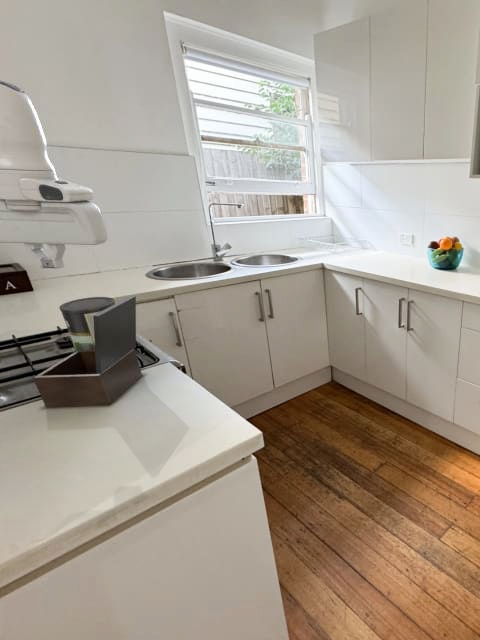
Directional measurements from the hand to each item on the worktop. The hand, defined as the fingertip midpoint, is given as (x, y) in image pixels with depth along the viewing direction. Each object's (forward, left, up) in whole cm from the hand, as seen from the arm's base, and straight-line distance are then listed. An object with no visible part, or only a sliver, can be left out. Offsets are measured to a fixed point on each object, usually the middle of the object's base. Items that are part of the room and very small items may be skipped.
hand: (52, 267), depth 71 cm
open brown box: (0, 0, -27) cm, 27 cm away
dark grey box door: (+7, 0, -13) cm, 15 cm away
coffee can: (-8, +18, -27) cm, 33 cm away
